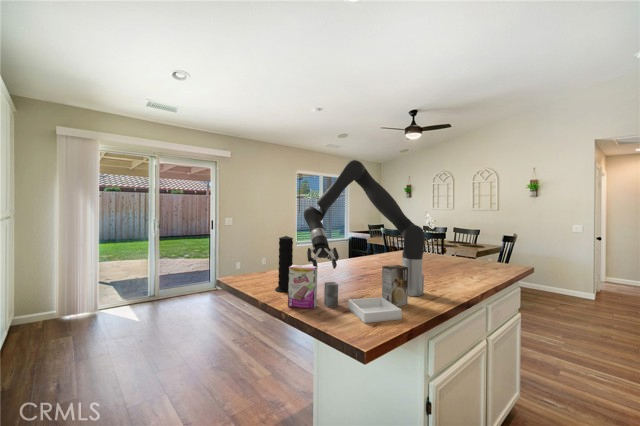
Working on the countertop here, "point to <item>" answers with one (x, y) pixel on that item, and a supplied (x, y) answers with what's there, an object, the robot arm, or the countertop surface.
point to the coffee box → (395, 284)
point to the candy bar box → (302, 286)
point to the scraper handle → (331, 294)
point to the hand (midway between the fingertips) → (325, 268)
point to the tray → (374, 310)
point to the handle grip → (284, 263)
